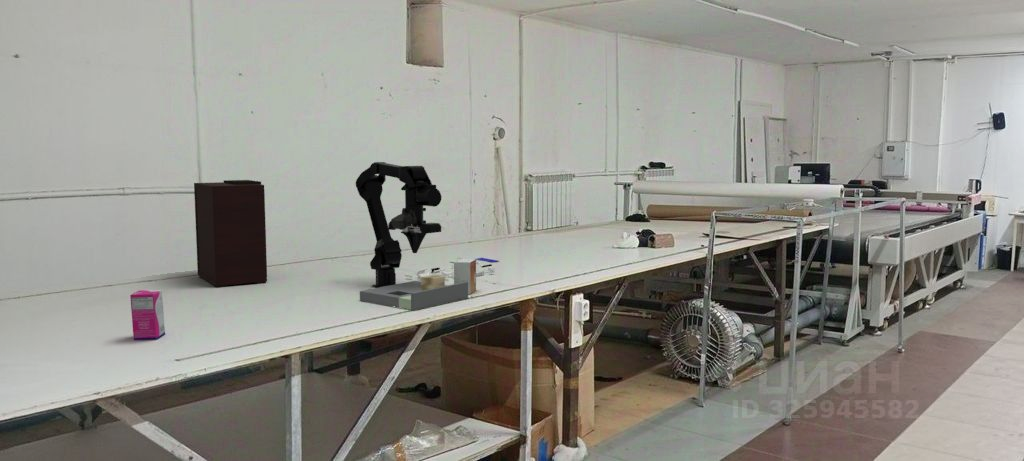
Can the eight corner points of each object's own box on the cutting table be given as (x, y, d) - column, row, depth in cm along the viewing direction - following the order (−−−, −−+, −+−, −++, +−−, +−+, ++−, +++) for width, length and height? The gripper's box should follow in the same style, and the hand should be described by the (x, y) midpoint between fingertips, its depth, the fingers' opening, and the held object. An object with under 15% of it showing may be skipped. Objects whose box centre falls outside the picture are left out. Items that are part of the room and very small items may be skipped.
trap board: (359, 300, 236) (359, 284, 236) (415, 289, 255) (414, 274, 255) (413, 310, 222) (413, 293, 222) (468, 297, 241) (468, 282, 241)
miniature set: (483, 267, 298) (502, 276, 289) (404, 283, 277) (422, 293, 268) (484, 252, 296) (503, 260, 287) (405, 266, 275) (423, 275, 266)
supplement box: (141, 334, 193) (139, 289, 192) (165, 334, 193) (163, 289, 192) (132, 340, 187) (129, 294, 186) (157, 339, 188) (155, 293, 186)
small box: (470, 294, 247) (470, 262, 246) (453, 294, 248) (453, 261, 247) (476, 290, 255) (476, 258, 254) (460, 289, 256) (460, 258, 255)
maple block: (421, 293, 233) (421, 276, 233) (432, 290, 237) (432, 274, 237) (433, 294, 230) (433, 278, 230) (444, 292, 234) (444, 276, 234)
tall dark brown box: (215, 287, 257) (211, 183, 254) (197, 276, 279) (193, 180, 275) (272, 282, 268) (269, 182, 264) (250, 272, 290) (247, 179, 286)
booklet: (433, 264, 313) (433, 263, 313) (481, 259, 329) (481, 257, 328) (450, 268, 303) (450, 266, 303) (499, 262, 319) (499, 260, 319)
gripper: (375, 205, 246) (376, 253, 248) (417, 207, 235) (418, 258, 236) (400, 203, 255) (401, 249, 257) (442, 205, 244) (442, 254, 245)
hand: (414, 253), depth 248 cm, fingers closed
